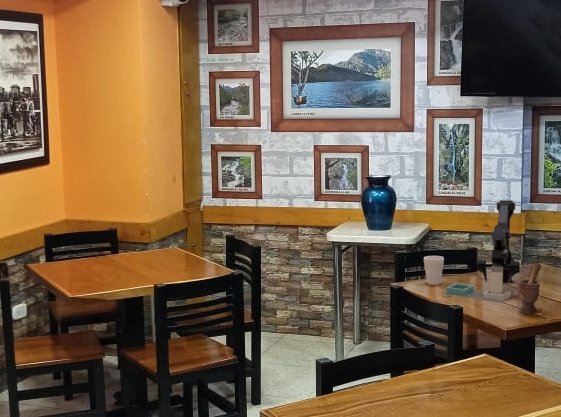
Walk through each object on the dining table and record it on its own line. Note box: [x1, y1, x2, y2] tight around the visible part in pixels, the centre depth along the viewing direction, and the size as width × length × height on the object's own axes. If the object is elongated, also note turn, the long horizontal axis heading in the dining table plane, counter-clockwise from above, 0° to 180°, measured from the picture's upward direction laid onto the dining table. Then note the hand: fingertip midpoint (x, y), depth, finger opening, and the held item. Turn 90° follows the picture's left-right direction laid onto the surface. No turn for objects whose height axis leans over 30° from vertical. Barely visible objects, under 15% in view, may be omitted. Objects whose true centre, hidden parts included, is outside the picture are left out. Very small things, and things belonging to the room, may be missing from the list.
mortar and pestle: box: [517, 262, 542, 315], centre depth 339 cm, size 12×9×20 cm
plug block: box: [490, 265, 504, 295], centre depth 359 cm, size 4×4×14 cm
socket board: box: [442, 282, 515, 304], centre depth 366 cm, size 28×14×4 cm, turn 51°
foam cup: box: [423, 255, 445, 284], centre depth 390 cm, size 10×9×13 cm
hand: (496, 282), depth 358 cm, fingers open, 9 cm apart
